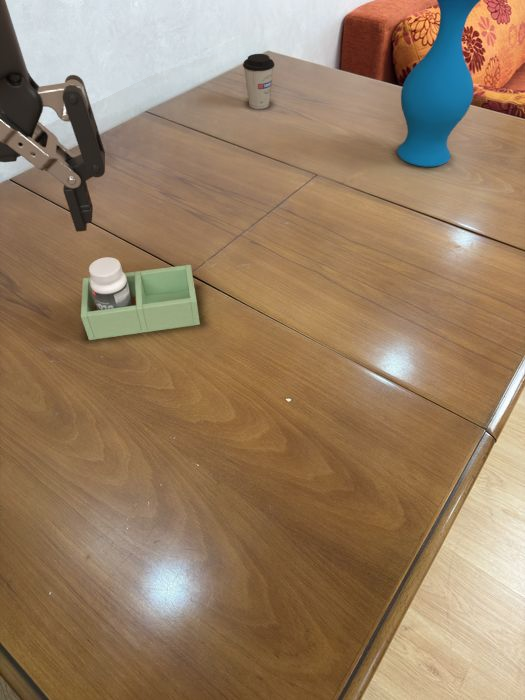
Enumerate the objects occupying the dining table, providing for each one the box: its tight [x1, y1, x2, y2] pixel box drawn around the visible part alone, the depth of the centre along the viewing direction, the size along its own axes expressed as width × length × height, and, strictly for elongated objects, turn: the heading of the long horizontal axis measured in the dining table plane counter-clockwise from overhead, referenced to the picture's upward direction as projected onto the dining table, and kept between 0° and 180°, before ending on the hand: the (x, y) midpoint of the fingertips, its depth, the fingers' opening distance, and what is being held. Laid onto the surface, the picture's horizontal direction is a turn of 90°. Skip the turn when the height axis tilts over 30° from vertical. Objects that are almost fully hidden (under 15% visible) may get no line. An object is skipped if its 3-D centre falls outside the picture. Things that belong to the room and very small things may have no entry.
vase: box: [396, 0, 481, 168], centre depth 95 cm, size 12×13×28 cm
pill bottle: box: [88, 256, 133, 310], centre depth 71 cm, size 5×5×8 cm
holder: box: [80, 264, 201, 341], centre depth 74 cm, size 15×8×4 cm, turn 101°
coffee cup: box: [242, 53, 275, 110], centre depth 119 cm, size 7×7×10 cm
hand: (24, 232), depth 41 cm, fingers open, 8 cm apart
